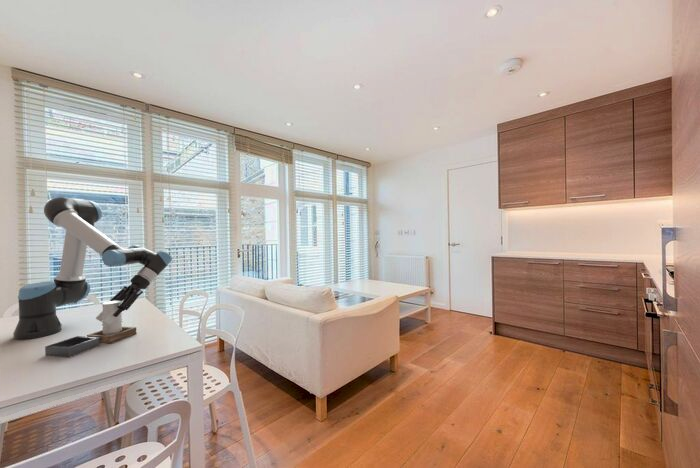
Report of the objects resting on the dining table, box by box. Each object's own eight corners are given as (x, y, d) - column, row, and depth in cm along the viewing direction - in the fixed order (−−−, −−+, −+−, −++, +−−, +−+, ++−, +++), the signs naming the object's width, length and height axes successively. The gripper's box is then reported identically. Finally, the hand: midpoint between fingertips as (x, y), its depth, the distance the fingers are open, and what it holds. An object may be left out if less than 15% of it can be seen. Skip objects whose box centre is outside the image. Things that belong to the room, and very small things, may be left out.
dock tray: (86, 342, 122) (86, 335, 122) (114, 332, 134) (114, 326, 134) (110, 343, 120) (110, 336, 120) (136, 333, 132) (136, 327, 132)
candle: (113, 333, 131) (112, 300, 131) (126, 333, 130) (125, 300, 130) (97, 338, 124) (97, 304, 124) (111, 339, 123) (111, 304, 123)
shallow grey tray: (45, 355, 109) (45, 346, 109) (77, 344, 120) (77, 336, 120) (68, 357, 107) (68, 348, 107) (99, 345, 118) (99, 337, 118)
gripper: (161, 285, 135) (121, 329, 121) (139, 281, 145) (99, 322, 131) (148, 275, 130) (105, 320, 116) (126, 272, 140) (84, 313, 126)
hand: (102, 321), depth 124 cm, fingers open, 7 cm apart
